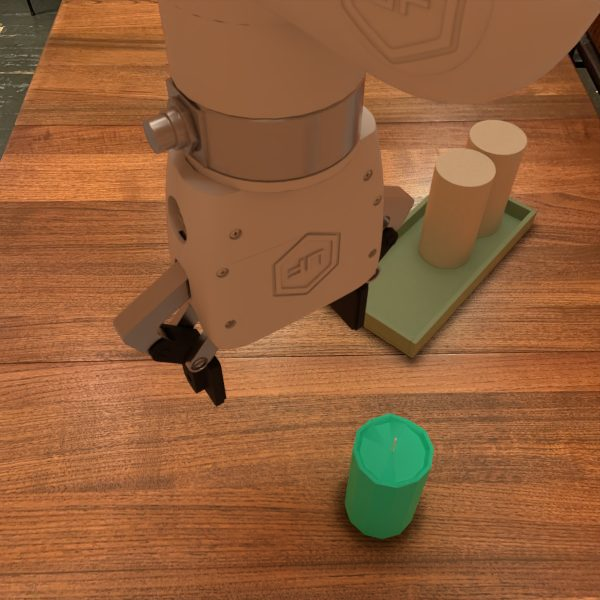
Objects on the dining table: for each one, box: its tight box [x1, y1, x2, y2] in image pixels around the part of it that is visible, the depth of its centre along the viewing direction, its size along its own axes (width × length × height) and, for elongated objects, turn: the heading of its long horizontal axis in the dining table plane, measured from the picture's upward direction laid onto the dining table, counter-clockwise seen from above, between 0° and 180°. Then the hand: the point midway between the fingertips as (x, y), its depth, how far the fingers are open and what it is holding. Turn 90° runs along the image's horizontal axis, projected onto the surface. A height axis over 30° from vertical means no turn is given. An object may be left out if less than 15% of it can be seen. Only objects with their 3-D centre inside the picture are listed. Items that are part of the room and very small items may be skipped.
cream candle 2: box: [465, 119, 528, 238], centre depth 73 cm, size 6×6×12 cm
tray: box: [362, 194, 538, 359], centre depth 73 cm, size 11×25×2 cm, turn 139°
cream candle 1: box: [418, 147, 496, 269], centre depth 70 cm, size 6×6×12 cm
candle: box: [344, 412, 435, 540], centre depth 52 cm, size 6×6×12 cm
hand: (279, 348), depth 40 cm, fingers open, 9 cm apart
